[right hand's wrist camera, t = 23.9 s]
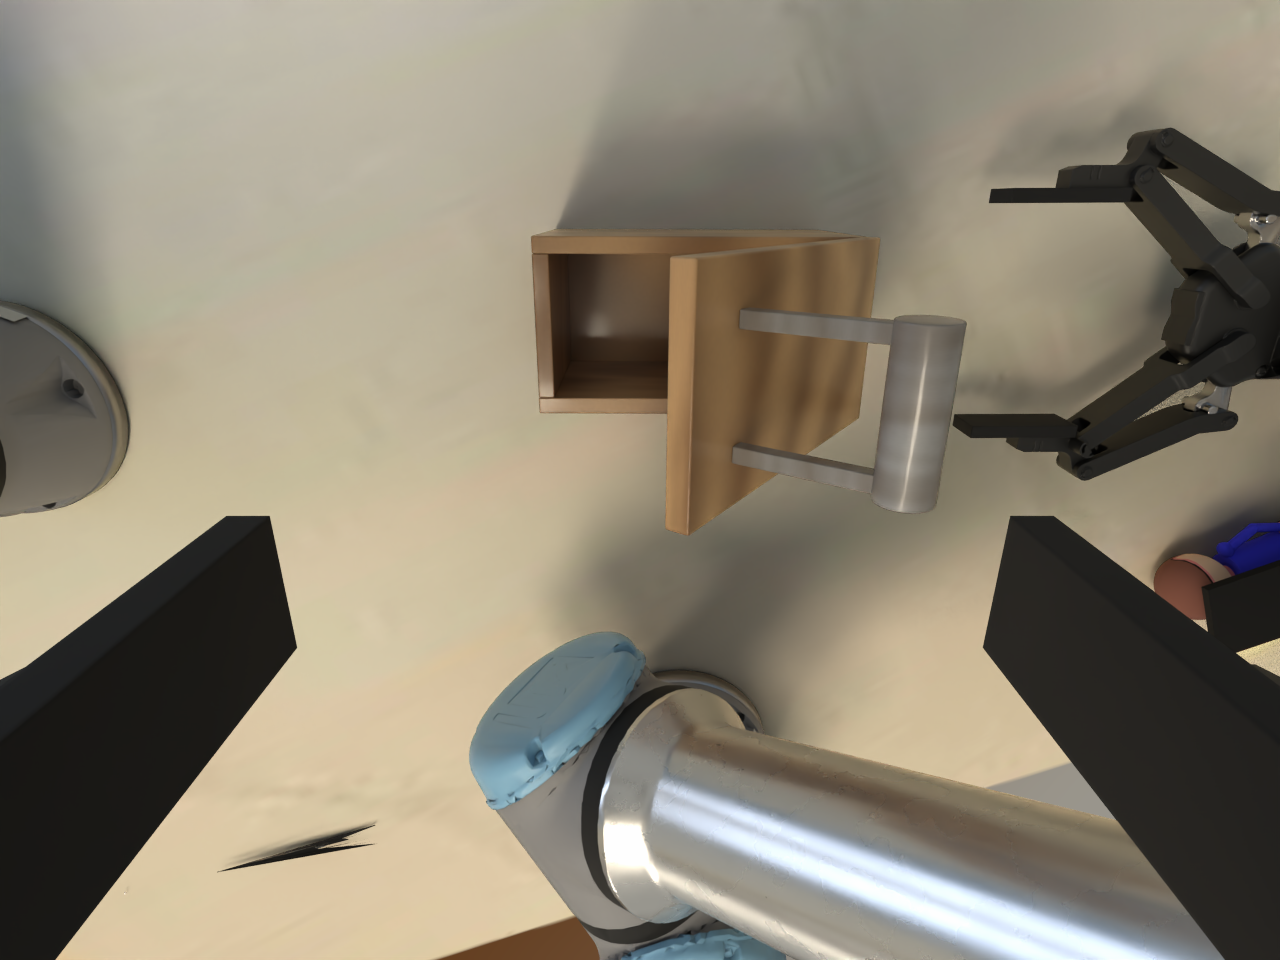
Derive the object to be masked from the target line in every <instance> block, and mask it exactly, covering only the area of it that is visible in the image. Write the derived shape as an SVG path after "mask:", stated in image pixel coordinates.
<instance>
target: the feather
mask: <svg viewBox="0 0 1280 960" xmlns="http://www.w3.org/2000/svg"><path fill="white" fill-rule="evenodd" d="M373 826H375V825H373ZM370 827H372V826H369V827H366V828H363V829H359V830H356V831H353V832H349V833H346V834H343V835H339V836H336V837H333V838H329V839H326V840H323V841H319V842H316V843H313V844H309V845H306V846H303V847H299V848H296V849H293V850H289V851H286V852H283V853H279V854H276V855H273V856H269V857H266V858H263V859H259V860H256V861H253V862H249V863H246V864H243V865H239V866H236V867H233V868H229V869H226V870H232V869H238V868H243V867H249V866H255V865H260V864H266V863H271V862H277V861H283V860H288V859H294V858H300V857H305V856H311V855H316V854H322V853H328V852H333V851H339V850H345V849H350V848H356V847H361V846H367V845H373V844H367V845H356V846H350V845H349V846H344V847H333V846H331V847H333V848H329V847H326V848H322V849H318V848H321V847H324V846H326V845H330V844H333V843H337V842H341V841H345V840H349V839H343V838H344V837H346V836H349V835H352V834H354V833H357V832H359V831H362V830H365V829H367V828H370ZM351 837H352V836H351ZM346 844H347V843H346ZM341 845H342V844H341ZM354 845H355V844H354ZM336 846H338V845H336ZM226 870H222V871H226ZM219 872H221V871H219ZM126 893H127V892H125V893H124V894H126Z"/></svg>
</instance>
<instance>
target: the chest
mask: <svg viewBox="0 0 1280 960" xmlns="http://www.w3.org/2000/svg"><path fill="white" fill-rule="evenodd" d="M859 237H864V236H857V235H850V234H842V233H835V232H828V231H821V230H700V229H554V230H551V231H548V232H544V233H541V234H537V235H533V236H531V246H532V253H533V254H532V267H533V287H534V307H535V327H536V346H537V366H538V386H539V397H540V398H539V406H540V413H667V408H668V351H669V294H670V258H671V257H672V256H680V255H690V254H700V253H710V252H720V251H730V250H740V249H749V248H759V247H769V246H779V245H789V244H799V243H809V242H819V241H829V240H839V239H849V238H859Z"/></svg>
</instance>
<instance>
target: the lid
mask: <svg viewBox="0 0 1280 960" xmlns="http://www.w3.org/2000/svg"><path fill="white" fill-rule="evenodd" d="M879 246H880V238H876V237H859V238H849V239H839V240H829V241H819V242H809V243H799V244H789V245H779V246H769V247H759V248H749V249H740V250H730V251H720V252H710V253H700V254H690V255H680V256H672V257H671V258H670V294H669V351H668V408H667V465H666V521H665V528H666V529H667V530H670V531H673V532H677V533H680V534H684V535H690V534H692V533H693V532H695V531H696V530H697V529H699V528H700V527H702V526H703V525H705V524H706V523H708V522H709V521H710V520H712V519H713V518H715V517H716V516H718V515H719V514H721V513H722V512H724V511H725V510H726V509H728V508H729V507H731V506H732V505H734V504H735V503H737V502H738V501H739V500H741V499H742V498H744V497H745V496H747V495H748V494H750V493H751V492H752V491H754V490H755V489H757V488H758V487H760V486H761V485H763V484H764V483H766V482H767V481H768V480H770V479H771V478H773V477H774V476H776V475H777V474H783V475H788V476H792V477H797V478H801V479H806V480H810V481H815V482H819V483H824V484H828V485H833V486H837V487H842V488H846V489H851V490H856V491H860V492H865V493H869V494H871V500H872V501H873V502H874V503H875V504H876V505H878V506H880V507H882V508H884V509H887V510H891V511H895V512H900V513H910V514H917V513H926V512H929V511H931V510H933V509H934V508H935V506H936V502H937V496H938V491H939V485H940V479H941V473H942V467H943V461H944V455H945V449H946V443H947V437H948V431H949V425H950V420H951V414H952V408H953V402H954V396H955V390H956V384H957V378H958V372H959V366H960V360H961V354H962V349H963V343H964V337H965V331H966V325H967V324H966V322H965V321H963V320H961V319H957V318H952V317H944V316H932V315H905V316H899V317H896V318H895V319H894V320H887V319H876V318H871V313H872V304H873V296H874V288H875V279H876V271H877V262H878V254H879ZM868 343H875V344H885V345H890V352H889V360H888V368H887V375H886V383H885V390H884V398H883V405H882V413H881V421H880V428H879V436H878V443H877V451H876V459H875V466H874V469H872V468H867V467H862V466H857V465H852V464H847V463H842V462H837V461H832V460H827V459H822V458H817V457H812V456H807V455H806V454H808V453H809V452H810V451H812V450H813V449H815V448H816V447H818V446H819V445H821V444H822V443H823V442H825V441H826V440H828V439H829V438H831V437H832V436H834V435H835V434H836V433H838V432H839V431H841V430H842V429H844V428H845V427H847V426H848V425H850V424H851V423H852V422H854V421H855V420H857V419H858V418H859V413H860V404H861V396H862V388H863V379H864V371H865V363H866V354H867V346H868Z"/></svg>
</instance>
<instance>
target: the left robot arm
mask: <svg viewBox="0 0 1280 960" xmlns="http://www.w3.org/2000/svg"><path fill="white" fill-rule="evenodd" d="M1127 150H1128V152H1127V153H1126V155H1125V157H1124V158H1123V160H1122V161H1121V162H1120V163H1118V164H1117V165H1081V166H1069V167H1066V168H1064V169H1061V170H1059V173H1058V178H1057V183H1056V188H1007V189H991V194H990V200H989V203H1091V202H1124V203H1125V204H1126V206H1127V207H1128V208H1129V209H1130V210H1131V211H1132V212H1133V214H1134V215H1135V216H1136V217H1137V218H1138V219H1139V220H1140V222H1141V223H1142V224H1143V225H1144V226H1145V227H1146V228H1147V230H1148V231H1149V232H1150V233H1151V234H1152V235H1153V236H1154V237H1155V239H1156V240H1157V241H1158V242H1159V243H1160V244H1161V245H1162V247H1163V248H1164V249H1165V250H1166V251H1167V252H1168V253H1169V255H1170V256H1171V257H1172V259H1171V263H1172V264H1173V265H1174V266H1175V267H1176V269H1177V270H1178V271H1179V272H1180V273H1181V274H1182V275H1183V276H1184V278H1185V279H1186V280H1185V281H1184V282H1183V283H1182V285H1181V286H1180V288H1175V289H1174V292H1173V296H1172V300H1171V316H1170V317H1169V319H1168V321H1167V323H1166V325H1165V327H1164V330H1163V334H1162V338H1161V340H1165V342H1166V347H1164V348H1163V349H1161V350H1160V351H1158V352H1157V353H1156V354H1154V355H1153V356H1151V357H1150V358H1148V359H1147V360H1146V361H1145V362H1144V367H1143V368H1142V369H1140V370H1139V371H1137V372H1136V373H1134V374H1133V375H1131V376H1130V377H1129V378H1127V379H1126V380H1124V381H1123V382H1121V383H1120V384H1118V385H1117V386H1116V387H1114V388H1113V389H1111V390H1110V391H1108V392H1107V393H1105V394H1104V395H1103V396H1101V397H1100V398H1098V399H1097V400H1095V401H1094V402H1092V403H1091V404H1089V405H1088V406H1087V407H1085V408H1084V409H1082V410H1081V411H1079V412H1078V413H1076V414H1075V415H1074V416H1072V417H1071V418H1069V419H1068V420H1065V419H1063V418H1061V417H1059V416H1057V415H1055V414H954V420H953V426H954V427H956V428H957V429H959V430H960V431H961V432H963V433H964V434H966V435H967V436H969V437H970V438H1007V440H1006V442H1007V443H1008V444H1010V445H1012V446H1013V447H1015V448H1016V449H1018V450H1021V451H1023V452H1039V451H1040V452H1058V453H1059V455H1058V456H1057V459H1056V463H1057V465H1058V466H1060V467H1061V468H1063V469H1064V470H1066V471H1067V472H1069V473H1071V474H1072V475H1074V476H1075V477H1077V478H1079V479H1080V480H1084V481H1085V480H1089V479H1092V478H1094V477H1096V476H1099V475H1101V474H1104V473H1106V472H1108V471H1111V470H1113V469H1115V468H1118V467H1120V466H1123V465H1125V464H1127V463H1130V462H1132V461H1134V460H1137V459H1139V458H1142V457H1144V456H1146V455H1149V454H1151V453H1153V452H1156V451H1158V450H1161V449H1163V448H1165V447H1168V446H1170V445H1173V444H1175V443H1177V442H1180V441H1182V440H1184V439H1187V438H1189V437H1192V436H1194V435H1196V434H1199V433H1208V432H1217V431H1226V430H1230V429H1232V428H1233V427H1234V426H1235V425H1236V424H1237V422H1238V416H1237V414H1236V413H1234V412H1232V411H1229V410H1228V405H1229V400H1230V395H1231V389H1232V386H1235V385H1237V384H1239V383H1241V382H1244V381H1247V380H1250V379H1280V247H1279V246H1277V245H1276V244H1277V241H1278V239H1279V236H1280V191H1273V190H1270V189H1269V188H1267V187H1265V186H1264V185H1262V184H1261V183H1259V182H1258V181H1256V180H1254V179H1253V178H1251V177H1250V176H1248V175H1246V174H1245V173H1243V172H1242V171H1240V170H1239V169H1237V168H1235V167H1234V166H1232V165H1231V164H1229V163H1228V162H1226V161H1224V160H1223V159H1221V158H1220V157H1218V156H1216V155H1215V154H1213V153H1212V152H1210V151H1209V150H1207V149H1205V148H1204V147H1202V146H1201V145H1199V144H1198V143H1196V142H1194V141H1193V140H1191V139H1190V138H1188V137H1187V136H1185V135H1183V134H1182V133H1180V132H1179V131H1177V130H1175V129H1173V128H1166V129H1157V130H1151V131H1144V132H1138V133H1135V134H1134V135H1132V136H1131V137H1130V139H1129V141H1128V143H1127ZM1161 173H1162V174H1164V175H1165V176H1167V177H1168V178H1170V179H1172V180H1173V181H1175V182H1176V183H1178V184H1180V185H1181V186H1183V187H1185V188H1186V189H1188V190H1189V191H1191V192H1193V193H1194V194H1196V195H1197V196H1199V197H1201V198H1202V199H1204V200H1206V201H1207V202H1209V203H1210V204H1212V205H1214V206H1215V207H1217V208H1219V209H1221V210H1223V211H1226V212H1229V213H1234V214H1236V215H1235V217H1234V222H1235V223H1238V225H1239V227H1240V228H1242V229H1244V230H1246V231H1247V233H1248V241H1247V242H1246V243H1243V244H1240V245H1238V246H1237V247H1235V248H1233V249H1232V250H1231V249H1230V248H1228V247H1226V246H1224V245H1222V244H1221V243H1219V242H1218V240H1217V239H1216V238H1215V237H1214V236H1213V235H1212V233H1211V232H1210V231H1209V230H1208V229H1207V227H1206V226H1205V225H1204V224H1203V223H1202V222H1201V220H1200V219H1199V218H1198V217H1197V216H1196V215H1195V213H1194V212H1193V211H1192V210H1191V209H1190V207H1189V206H1188V205H1187V204H1186V203H1185V202H1184V200H1183V199H1182V198H1181V197H1180V196H1179V194H1178V193H1177V192H1176V191H1175V190H1174V189H1173V187H1172V186H1171V185H1170V184H1169V183H1168V182H1167V180H1166V179H1165V178H1164V177H1163V176H1162V174H1161ZM1179 362H1180V363H1182V364H1183V365H1179V364H1178V363H1179ZM1201 381H1203V382H1205V386H1204V388H1203V390H1202V391H1201V392H1199V393H1198V394H1195V395H1192V396H1190V397H1189V396H1186V397H1184V398H1183V399H1182V401H1181V402H1182V404H1178V405H1173V406H1170V407H1166V408H1164V409H1161V410H1159V411H1156V412H1154V413H1152V414H1149V415H1147V416H1145V417H1142V418H1140V419H1138V420H1136V419H1137V418H1139V417H1140V416H1142V415H1143V414H1144V413H1146V412H1147V411H1149V410H1150V409H1152V408H1153V407H1155V406H1156V405H1158V404H1159V403H1161V402H1162V401H1164V400H1165V399H1167V398H1168V397H1170V396H1171V395H1173V394H1174V393H1176V392H1177V391H1179V390H1183V389H1189V388H1191V387H1193V386H1195V385H1196V384H1198V383H1199V382H1201ZM1134 420H1135V421H1134ZM469 762H470V767H471V771H472V773H473V775H474V777H475V779H476V781H477V782H478V784H479V786H480V788H481V789H482V791H483V793H484V795H485V796H486V798H487V801H486V803H487V804H488V806H489V807H490V808H491V809H494V810H496V811H497V813H498V814H499V815H500V817H501V818H502V819H503V821H504V822H505V823H506V825H507V826H508V827H509V829H510V830H511V831H512V833H513V834H514V835H515V837H516V838H517V839H518V841H519V842H520V843H521V845H522V846H523V847H524V849H525V850H526V851H527V853H528V854H529V855H530V857H531V858H532V859H533V861H534V862H535V863H536V865H537V866H538V867H539V869H540V870H541V871H542V873H543V874H544V876H545V877H546V878H547V880H548V881H549V882H550V884H551V885H552V886H553V888H554V889H555V890H556V892H557V893H558V894H559V896H560V897H561V898H562V900H563V901H564V902H565V904H566V905H567V906H568V908H569V909H570V910H571V912H572V913H573V914H574V915H575V916H576V917H577V918H578V920H579V921H580V923H581V924H582V925H583V927H584V928H585V929H586V931H587V932H588V934H589V935H590V936H591V938H592V939H593V941H594V942H595V944H596V946H597V948H598V952H599V956H600V960H786V955H787V956H789V957H791V958H793V959H795V960H1225V959H1224V958H1223V957H1222V956H1221V954H1220V953H1219V952H1218V950H1217V949H1216V948H1215V947H1214V945H1213V944H1212V943H1211V941H1210V940H1209V939H1208V938H1207V936H1206V935H1205V934H1204V932H1203V931H1202V930H1201V929H1200V927H1199V926H1198V925H1197V923H1196V922H1195V921H1194V919H1193V918H1192V917H1191V916H1190V914H1189V913H1188V912H1187V910H1186V909H1185V908H1184V907H1183V905H1182V904H1181V903H1180V901H1179V900H1178V899H1177V898H1176V896H1175V895H1174V894H1173V892H1172V891H1171V890H1170V888H1169V887H1168V886H1167V885H1166V883H1165V882H1164V881H1163V879H1162V878H1161V877H1160V876H1159V874H1158V873H1157V872H1156V870H1155V869H1154V868H1153V867H1152V865H1151V864H1150V863H1149V861H1148V860H1147V859H1146V857H1145V856H1144V855H1143V854H1142V852H1141V851H1140V850H1139V848H1138V847H1137V846H1136V845H1135V843H1134V842H1133V841H1132V839H1131V838H1130V837H1129V836H1128V834H1127V833H1126V832H1125V830H1124V829H1123V828H1122V827H1121V825H1120V824H1119V823H1118V821H1117V820H1113V819H1109V818H1105V817H1101V816H1097V815H1093V814H1089V813H1085V812H1080V811H1076V810H1072V809H1068V808H1064V807H1060V806H1056V805H1052V804H1048V803H1044V802H1040V801H1035V800H1031V799H1027V798H1023V797H1019V796H1015V795H1011V794H1007V793H1002V792H998V791H994V790H990V789H986V788H982V787H978V786H974V785H970V784H966V783H962V782H957V781H953V780H949V779H945V778H941V777H937V776H933V775H929V774H925V773H920V772H916V771H912V770H908V769H904V768H900V767H896V766H892V765H888V764H884V763H879V762H875V761H871V760H867V759H863V758H859V757H855V756H851V755H847V754H842V753H838V752H834V751H830V750H826V749H822V748H818V747H814V746H810V745H805V744H801V743H797V742H793V741H789V740H785V739H781V738H777V737H773V736H769V735H764V731H763V727H762V723H761V720H760V717H759V714H758V713H757V711H756V709H755V707H754V706H753V704H752V703H751V702H750V700H749V699H748V698H747V697H746V696H745V695H744V694H743V693H742V692H741V691H740V690H738V689H737V688H736V687H734V686H733V685H731V684H730V683H728V682H726V681H724V680H722V679H720V678H717V677H715V676H712V675H708V674H705V673H700V672H695V671H684V670H675V671H664V672H658V673H653V674H652V673H651V672H650V671H649V669H648V668H647V666H646V658H645V655H644V653H643V652H642V651H640V650H638V649H637V648H636V647H635V645H634V644H633V643H632V641H631V640H630V639H629V638H627V637H626V636H624V635H622V634H619V633H615V632H599V633H593V634H589V635H586V636H582V637H580V638H577V639H575V640H572V641H570V642H568V643H566V644H564V645H562V646H560V647H558V648H557V649H555V650H554V651H552V652H550V653H548V654H547V655H545V656H544V657H542V658H541V659H539V660H538V661H536V662H535V663H534V664H532V665H531V666H530V667H529V668H527V669H526V670H525V671H524V672H522V673H521V674H520V675H519V676H518V677H517V678H516V679H514V680H513V681H512V682H511V683H510V684H509V685H508V686H507V687H506V688H505V689H504V690H503V692H502V693H501V694H500V695H499V696H498V697H497V698H496V700H495V701H494V702H493V703H492V704H491V706H490V707H489V708H488V710H487V711H486V713H485V714H484V716H483V717H482V719H481V721H480V723H479V724H478V726H477V729H476V733H475V735H474V737H473V740H472V742H471V746H470V752H469Z"/></svg>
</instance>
